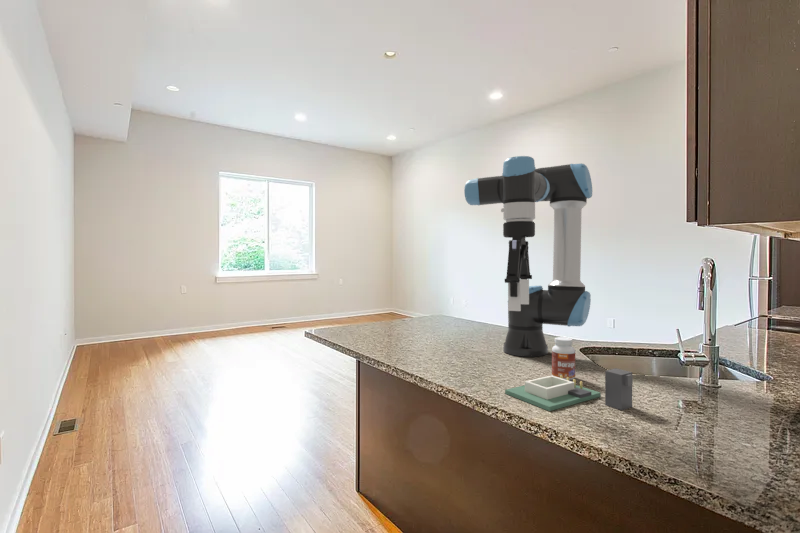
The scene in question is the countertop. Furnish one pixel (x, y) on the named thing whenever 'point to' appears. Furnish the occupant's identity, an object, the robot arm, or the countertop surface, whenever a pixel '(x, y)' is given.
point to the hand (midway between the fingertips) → (519, 307)
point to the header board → (552, 392)
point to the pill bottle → (563, 358)
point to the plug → (618, 388)
